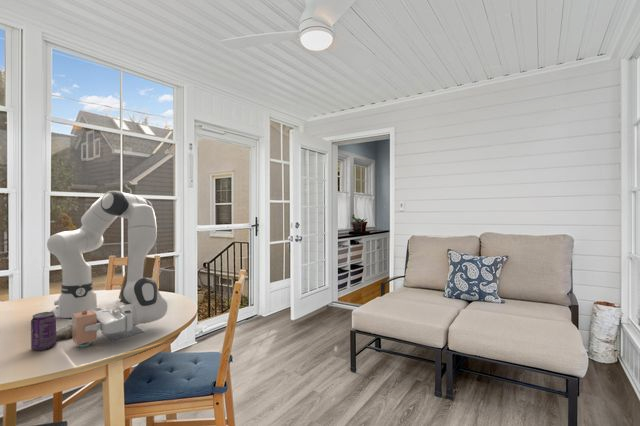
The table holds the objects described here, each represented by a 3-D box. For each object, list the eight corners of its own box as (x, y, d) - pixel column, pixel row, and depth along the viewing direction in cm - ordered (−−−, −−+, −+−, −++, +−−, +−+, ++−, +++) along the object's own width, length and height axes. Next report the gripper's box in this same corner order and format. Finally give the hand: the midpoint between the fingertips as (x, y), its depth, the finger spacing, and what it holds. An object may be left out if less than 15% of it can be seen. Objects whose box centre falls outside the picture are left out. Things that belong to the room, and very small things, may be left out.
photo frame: (134, 308, 169) (135, 258, 169) (118, 300, 183) (119, 253, 183) (164, 302, 180) (165, 255, 180) (147, 295, 195) (147, 251, 194)
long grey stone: (141, 319, 158) (126, 318, 162) (141, 308, 159) (126, 306, 162) (59, 344, 126) (42, 341, 130) (59, 329, 126) (42, 326, 130)
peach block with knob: (72, 340, 124) (72, 310, 124) (91, 335, 129) (91, 306, 128) (76, 344, 120) (76, 314, 120) (96, 339, 125) (96, 310, 124)
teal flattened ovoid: (77, 347, 124) (77, 343, 124) (88, 344, 127) (88, 340, 127) (79, 350, 122) (79, 345, 122) (91, 347, 125) (91, 342, 125)
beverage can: (40, 343, 127) (40, 311, 127) (61, 343, 128) (60, 311, 127) (25, 351, 120) (25, 317, 120) (47, 351, 121) (47, 317, 120)
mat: (101, 333, 137) (101, 332, 137) (133, 326, 146) (133, 324, 146) (111, 342, 129) (111, 340, 129) (144, 333, 138) (144, 332, 138)
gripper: (114, 303, 141) (73, 310, 131) (133, 314, 127) (89, 324, 117) (114, 318, 141) (74, 327, 131) (133, 331, 127) (89, 342, 117)
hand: (81, 325), depth 124 cm, fingers closed on peach block with knob, 6 cm apart
